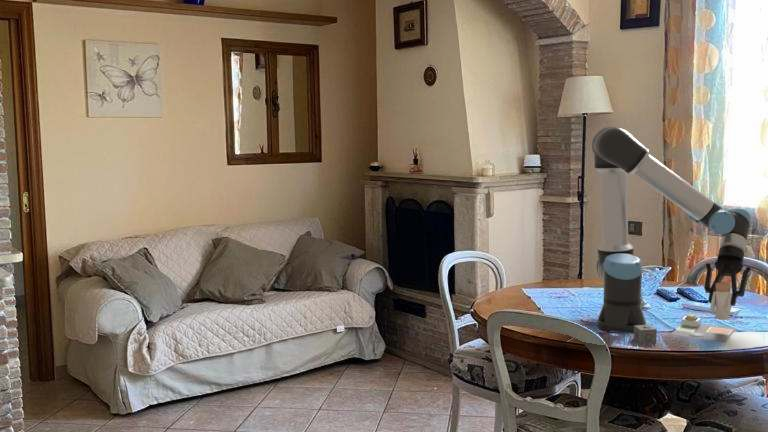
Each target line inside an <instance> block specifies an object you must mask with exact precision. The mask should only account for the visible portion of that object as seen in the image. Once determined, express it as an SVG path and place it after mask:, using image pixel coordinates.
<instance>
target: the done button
mask: <svg viewBox="0 0 768 432" xmlns="http://www.w3.org/2000/svg"><path fill="white" fill-rule="evenodd" d="M686 316H687V317H686V320H693V321H696V318H697V315H695V314H687V315H686Z"/></svg>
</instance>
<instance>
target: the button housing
mask: <svg viewBox="0 0 768 432" xmlns="http://www.w3.org/2000/svg"><path fill="white" fill-rule="evenodd" d="M686 317H687V315H685V316H683V318H681V320H680V321H681V322H680V323H681V324H680V325H681V326H684V327H691V328H698V327H699V326H700V324H701V317H696V321H693V320H686Z"/></svg>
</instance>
